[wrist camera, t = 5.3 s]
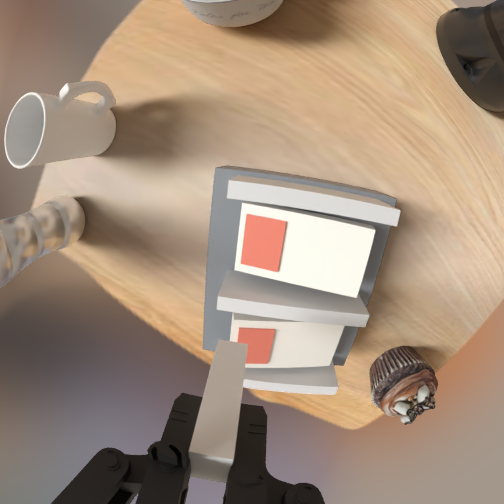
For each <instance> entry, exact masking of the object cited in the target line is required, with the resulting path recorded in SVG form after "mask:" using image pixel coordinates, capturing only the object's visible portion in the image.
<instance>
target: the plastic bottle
mask: <svg viewBox="0 0 504 504" xmlns="http://www.w3.org/2000/svg"><path fill="white" fill-rule="evenodd" d="M84 227H85V214H84V211H83V208H82V207H81V205H80V204H79V203H78V202H77V201H76V200H75V199H73V198H72V197H69V196H60V197H55V198H53V199H51V200H49V201H47V202H46V203H44V204H43V205H41V206H39V207H37V208H35V209H33V210H31V211H29V212H27V213H24V214H21V215H18V216H15V217H12V218H8V219H3V220H0V287H2V286H4V285H5V284H6V283H7V282H9V280H11V279H12V278H13V277H14V276H15V275H16V274H17V273H18V272H20V271H21V269H23V268H24V267H25V266H27V265H28V264H30V263H31V262H33V261H34V260H36V259H37V258H39V257H40V256H43V255H45V254H47V253H50V252H52V251H54V250H58V249H63V248H66V247H68V246H71V245H72V244H73V243H74V242H76V241H77V240H78V239H79V238H80V237H81V235H82V233H83V231H84Z"/></svg>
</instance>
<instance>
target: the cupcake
mask: <svg viewBox="0 0 504 504" xmlns="http://www.w3.org/2000/svg"><path fill="white" fill-rule="evenodd" d="M369 374H370V382H371V398H372V403H374V405H376V407H377V406H378V408H380V409H381V410H382V411H383V412H384V413H385V414H386V415H389V416H396V417H397V416H402V417H401V421H402V422H403V423H405V425H406V424H409V423H412V422H413V421H414V420H415V418H416V416H417V414H418V415H420V414H422V413H423V412H424V411H425V410H429V409H434V408H435V405H434V404H435V399H434V397H433V396H434V394H435V392H436V390H437V386H438V382H437V379H436V377H435V373H434V370H433V369H432V367H431V366H430V365H429V364H428V363H427V362H426V361H425V360H424V359H423V358H422V357H421V356H420V355H419V354H418V353H417V352H416V351H415V350H414V349H413V348H411V347H406V346H400V347H396V348H393V349H390V350H388V351H386V352H385V353H384V354H382V355H381V356H379V357H378V358H377V359H376V360H375V362H374V363H373V364H372V366H371V369H370V373H369Z"/></svg>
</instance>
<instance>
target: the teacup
mask: <svg viewBox="0 0 504 504" xmlns="http://www.w3.org/2000/svg"><path fill="white" fill-rule="evenodd" d="M181 1H182V3H183V4H184V5H185V7H186V8H187V9H188V10H189V11H190V12H191V13H192V14H193V15H194V16H195V17H196V18H198V19H199V20H201V21H203V22H205V23H208V24H211V25H214V26H220V27H239V26H245V25H249V24H253V23H256V22H259V21H261V20H263V19H265V18H267V17H268V16H270V15H271V14H273V13H274V12H275V11H276V10H277V9H278V8H279V7H280V5H281V4H282V2H283V0H181Z"/></svg>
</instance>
